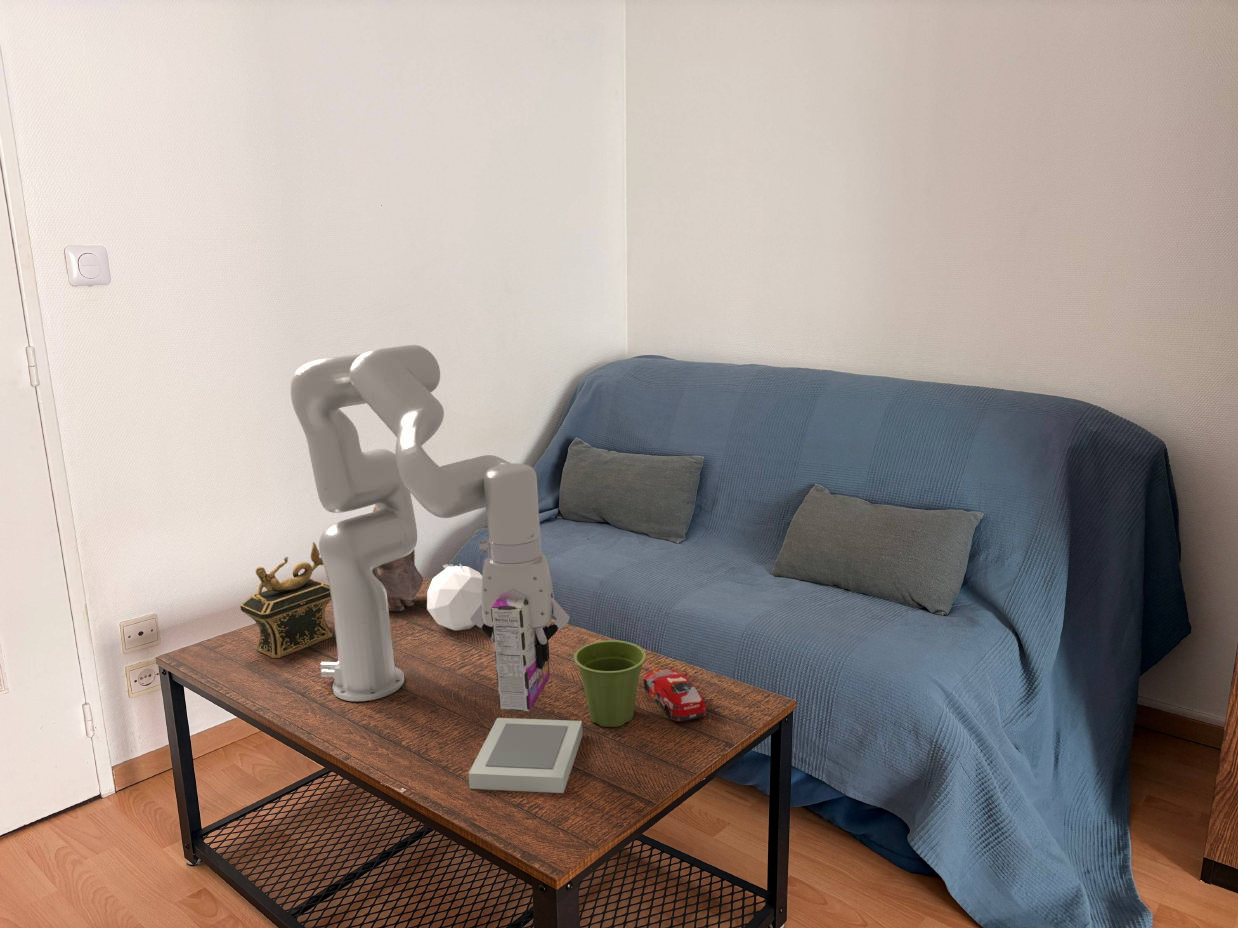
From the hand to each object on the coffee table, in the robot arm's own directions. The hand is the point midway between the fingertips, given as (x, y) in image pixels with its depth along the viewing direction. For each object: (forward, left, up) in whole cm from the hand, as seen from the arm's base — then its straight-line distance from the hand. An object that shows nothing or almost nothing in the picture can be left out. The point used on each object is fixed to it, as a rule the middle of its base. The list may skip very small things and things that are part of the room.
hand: (523, 663), depth 136 cm
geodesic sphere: (-26, +49, -17) cm, 58 cm away
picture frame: (0, 0, -16) cm, 16 cm away
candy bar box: (0, 0, -5) cm, 5 cm away
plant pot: (+11, +14, -17) cm, 24 cm away
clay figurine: (-43, +58, -16) cm, 74 cm away
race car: (+21, +20, -17) cm, 34 cm away
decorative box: (-57, +40, -17) cm, 72 cm away
